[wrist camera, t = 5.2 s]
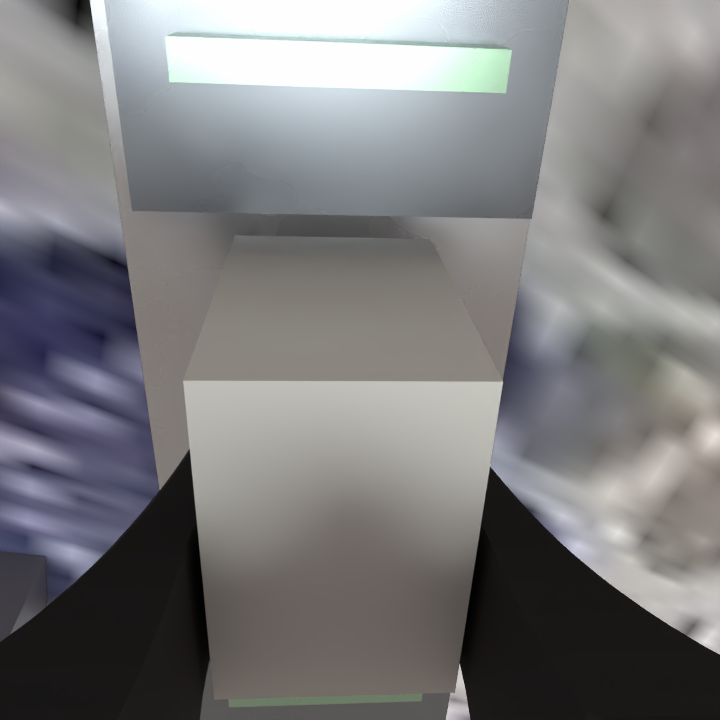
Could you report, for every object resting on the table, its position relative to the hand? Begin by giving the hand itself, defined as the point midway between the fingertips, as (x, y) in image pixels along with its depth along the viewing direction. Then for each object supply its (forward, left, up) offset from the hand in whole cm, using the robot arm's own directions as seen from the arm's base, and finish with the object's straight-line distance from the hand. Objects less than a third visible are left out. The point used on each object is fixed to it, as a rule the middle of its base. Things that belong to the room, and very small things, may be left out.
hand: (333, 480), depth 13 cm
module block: (0, +1, -3) cm, 3 cm away
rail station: (0, 0, -6) cm, 6 cm away
